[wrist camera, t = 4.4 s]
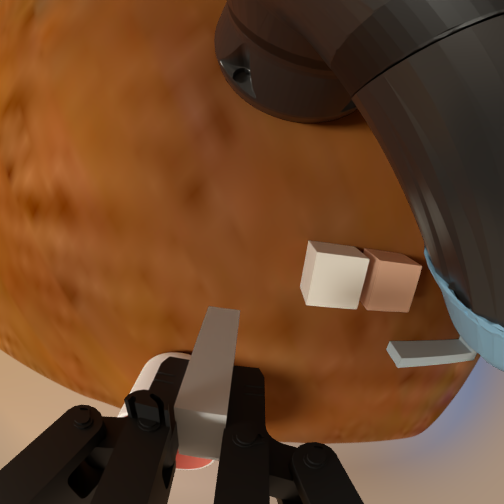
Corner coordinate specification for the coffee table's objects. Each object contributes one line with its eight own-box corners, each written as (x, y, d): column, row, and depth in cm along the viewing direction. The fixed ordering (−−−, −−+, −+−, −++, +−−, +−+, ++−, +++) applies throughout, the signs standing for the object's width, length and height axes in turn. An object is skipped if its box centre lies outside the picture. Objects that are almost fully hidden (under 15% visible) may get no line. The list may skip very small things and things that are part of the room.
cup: (182, 331, 28) (152, 396, 18) (245, 387, 30) (240, 456, 20) (130, 370, 30) (97, 426, 20) (188, 417, 32) (173, 476, 22)
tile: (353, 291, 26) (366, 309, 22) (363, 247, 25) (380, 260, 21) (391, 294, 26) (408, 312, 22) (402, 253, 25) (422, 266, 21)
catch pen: (386, 349, 28) (397, 367, 25) (429, 190, 23) (449, 194, 20) (460, 346, 28) (473, 359, 25) (501, 215, 23) (519, 221, 20)
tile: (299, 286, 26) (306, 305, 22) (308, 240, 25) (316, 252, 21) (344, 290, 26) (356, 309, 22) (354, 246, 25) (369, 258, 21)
